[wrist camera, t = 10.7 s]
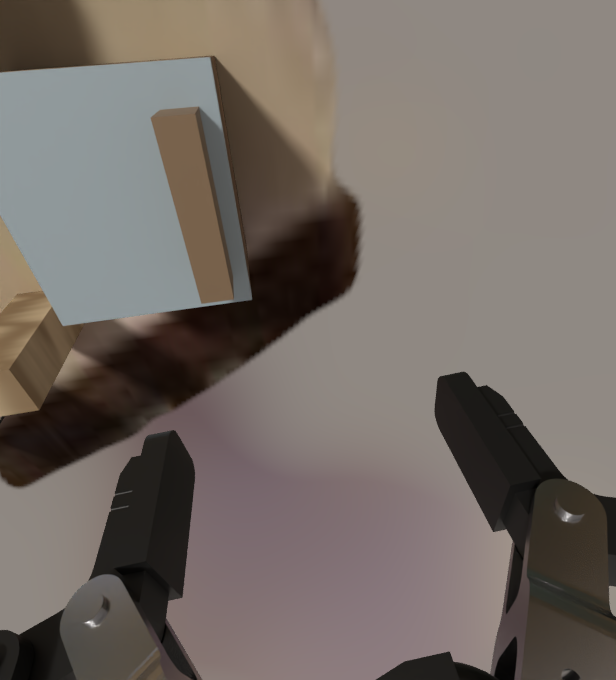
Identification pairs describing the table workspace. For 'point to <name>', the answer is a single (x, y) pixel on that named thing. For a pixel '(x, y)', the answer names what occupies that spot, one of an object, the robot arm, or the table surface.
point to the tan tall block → (31, 352)
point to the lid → (121, 188)
